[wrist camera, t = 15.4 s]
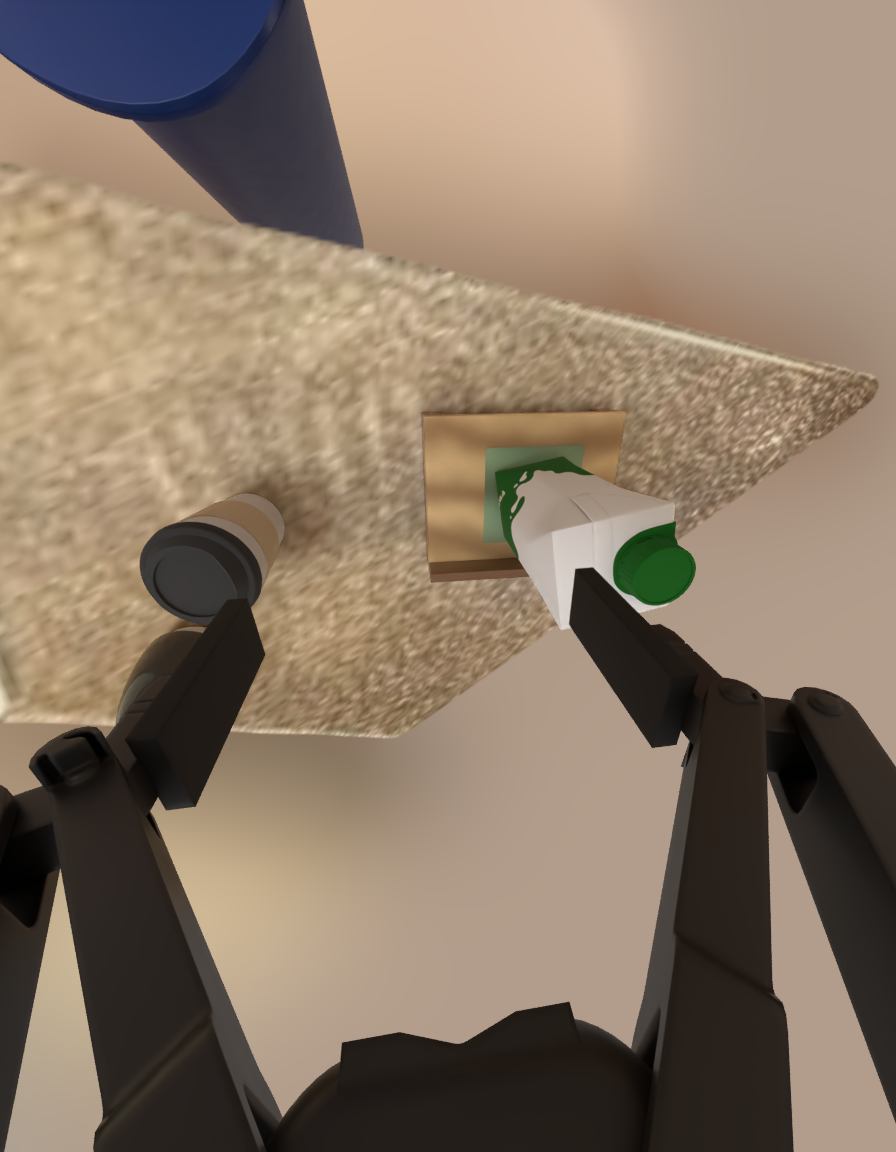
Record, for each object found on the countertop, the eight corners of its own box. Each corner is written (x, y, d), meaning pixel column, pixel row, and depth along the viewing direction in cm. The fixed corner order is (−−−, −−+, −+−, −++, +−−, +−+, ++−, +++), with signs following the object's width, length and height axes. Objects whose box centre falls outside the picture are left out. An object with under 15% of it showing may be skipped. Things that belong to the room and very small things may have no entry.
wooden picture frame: (421, 412, 41) (425, 419, 35) (608, 408, 43) (643, 414, 37) (426, 556, 48) (431, 582, 42) (587, 547, 50) (613, 571, 44)
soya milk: (576, 525, 44) (696, 627, 26) (495, 544, 44) (562, 659, 26) (571, 444, 40) (709, 499, 22) (482, 464, 40) (550, 537, 22)
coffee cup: (236, 571, 47) (171, 650, 33) (190, 499, 42) (95, 556, 29) (309, 546, 46) (273, 616, 33) (270, 471, 42) (211, 516, 29)
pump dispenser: (188, 689, 53) (117, 796, 40) (144, 625, 48) (46, 722, 35) (264, 670, 53) (218, 771, 40) (227, 604, 48) (161, 693, 35)
